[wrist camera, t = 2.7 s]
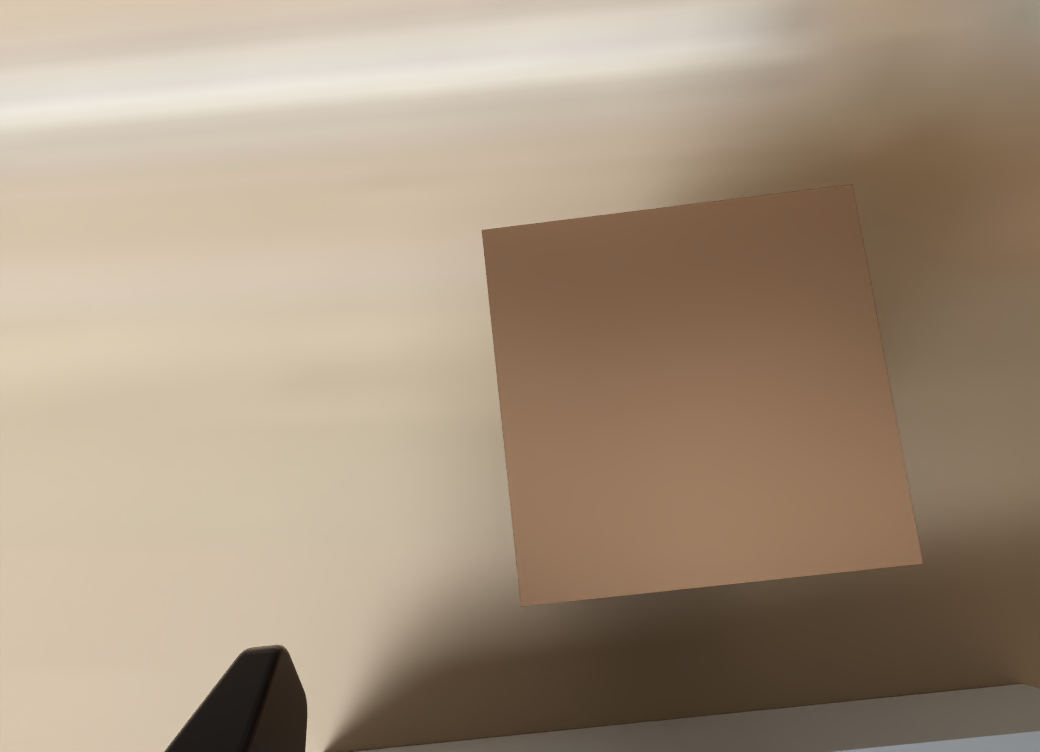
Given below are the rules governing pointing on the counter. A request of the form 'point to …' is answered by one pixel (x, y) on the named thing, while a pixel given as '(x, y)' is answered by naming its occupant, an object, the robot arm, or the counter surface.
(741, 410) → the walnut post
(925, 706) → the well block
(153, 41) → the counter surface
